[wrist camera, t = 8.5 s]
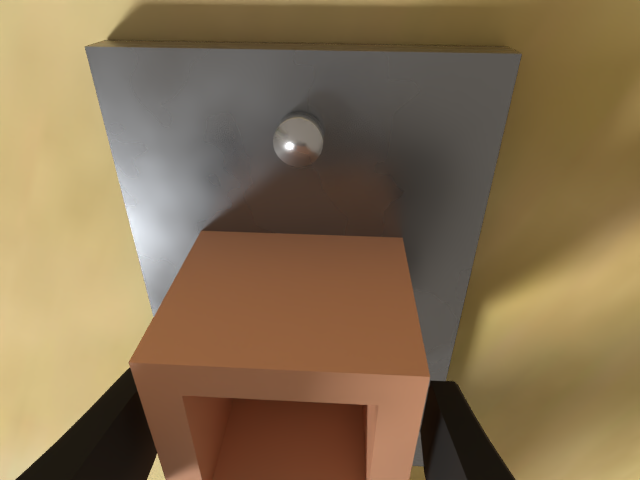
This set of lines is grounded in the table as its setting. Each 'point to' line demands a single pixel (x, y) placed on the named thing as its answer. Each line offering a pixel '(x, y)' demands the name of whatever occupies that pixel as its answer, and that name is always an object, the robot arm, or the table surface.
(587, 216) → the table surface
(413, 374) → the collar
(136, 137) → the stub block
